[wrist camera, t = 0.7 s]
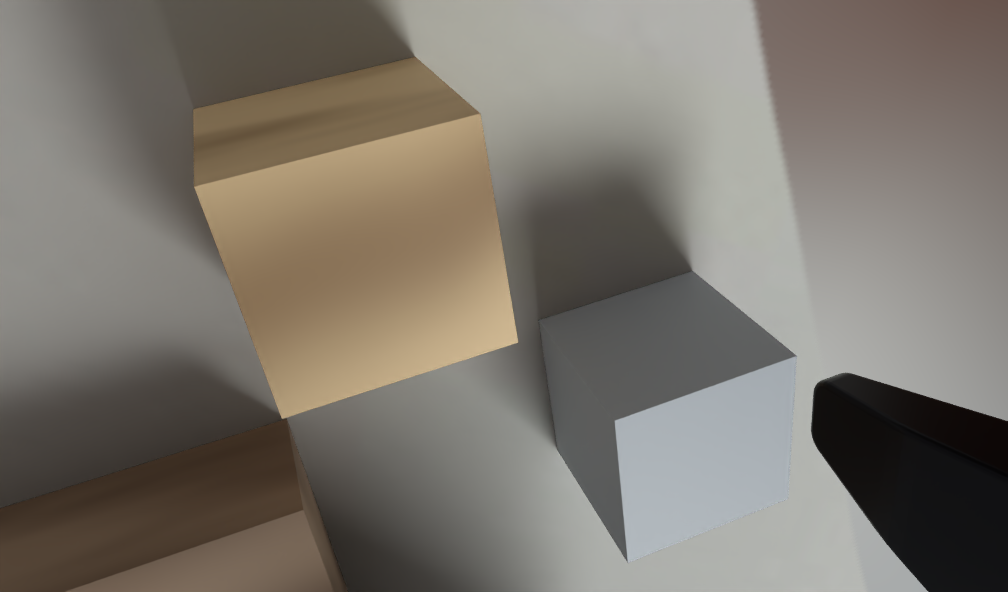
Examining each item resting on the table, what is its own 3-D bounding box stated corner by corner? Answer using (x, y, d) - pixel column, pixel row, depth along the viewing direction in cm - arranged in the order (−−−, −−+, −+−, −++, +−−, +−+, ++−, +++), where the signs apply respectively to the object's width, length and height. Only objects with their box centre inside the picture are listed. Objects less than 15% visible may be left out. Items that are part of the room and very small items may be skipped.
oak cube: (452, 246, 21) (518, 342, 17) (262, 302, 20) (281, 418, 16) (414, 56, 18) (480, 113, 14) (192, 107, 17) (194, 186, 13)
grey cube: (694, 398, 26) (788, 498, 22) (556, 448, 25) (627, 562, 21) (691, 269, 24) (796, 355, 20) (537, 318, 23) (614, 420, 19)
